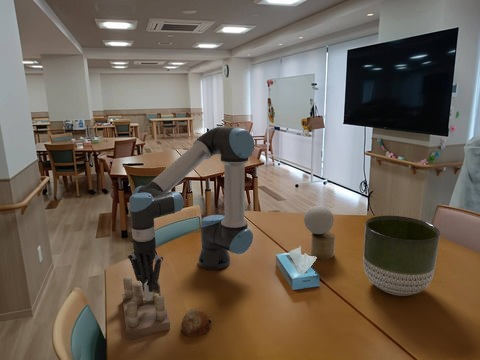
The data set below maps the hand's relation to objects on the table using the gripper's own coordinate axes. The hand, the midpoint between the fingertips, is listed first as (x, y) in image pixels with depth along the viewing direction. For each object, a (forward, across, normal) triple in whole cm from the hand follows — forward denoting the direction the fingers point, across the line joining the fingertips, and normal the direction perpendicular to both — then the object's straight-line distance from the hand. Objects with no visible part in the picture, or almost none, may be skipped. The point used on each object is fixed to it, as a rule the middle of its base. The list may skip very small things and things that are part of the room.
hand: (149, 298), depth 124 cm
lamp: (+7, +54, +68) cm, 87 cm away
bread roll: (+7, +19, -1) cm, 20 cm away
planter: (+7, +87, +44) cm, 98 cm away
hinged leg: (+4, -3, +3) cm, 6 cm away
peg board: (+7, -2, 0) cm, 7 cm away
